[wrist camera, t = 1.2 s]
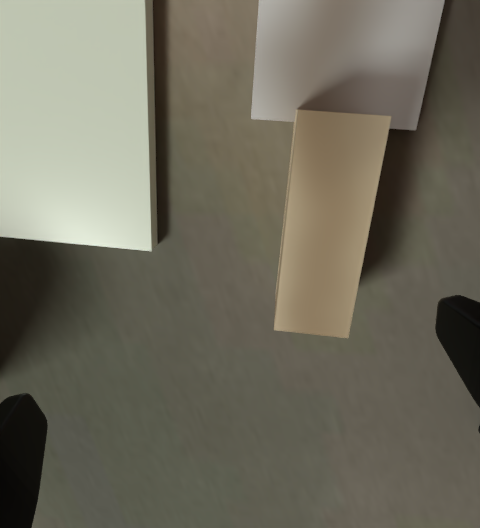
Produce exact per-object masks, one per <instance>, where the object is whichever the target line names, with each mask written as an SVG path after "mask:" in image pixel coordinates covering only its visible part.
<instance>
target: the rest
mask: <svg viewBox="0 0 480 528" xmlns="http://www.w3.org/2000/svg"><path fill="white" fill-rule="evenodd" d="M0 237H10V238H20V239H30V240H41V241H51V242H61V243H72V244H82V245H92V246H103V247H113V248H123V249H134V250H144V251H152V250H153V249H154V248H155V247H156V246H157V245H158V241H157V191H156V141H155V90H154V40H153V0H0Z"/></svg>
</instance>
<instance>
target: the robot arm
mask: <svg viewBox="0 0 480 528" xmlns="http://www.w3.org/2000/svg"><path fill="white" fill-rule="evenodd" d="M435 329H436V334H437V337H438V339H439V341H440V342H441V344H442V346H443V348H444V349H445V351H446V353H447V355H448V356H449V358H450V360H451V361H452V363H453V365H454V367H455V368H456V370H457V372H458V374H459V375H460V377H461V379H462V380H463V382H464V384H465V386H466V387H467V389H468V391H469V392H470V394H471V396H472V397H473V399H474V400H475V402H476V403H477V405H478V406H479V407H480V302H477V301H474V300H472V299H469V298H466V297H464V296H461V295H455V296H450V297H446V298H442V299H440V300H439V302H438V306H437V316H436V326H435ZM479 433H480V426H479ZM46 436H47V419H46V417H45V415H44V414H43V412H42V411H41V409H40V408H39V406H38V405H37V403H36V402H35V400H34V399H33V397H32V396H31V395H30V394H28V393H23V394H19V395H14V396H10V397H8V398H6V399H5V400H4V401H3V402H1V403H0V528H31V527H32V523H33V519H34V515H35V510H36V505H37V501H38V495H39V489H40V481H41V474H42V466H43V458H44V451H45V443H46Z"/></svg>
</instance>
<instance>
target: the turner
mask: <svg viewBox="0 0 480 528" xmlns="http://www.w3.org/2000/svg"><path fill="white" fill-rule="evenodd" d="M444 2H445V0H259V9H258V23H257V38H256V53H255V67H254V82H253V97H252V111H251V119H261V120H275V121H289V122H294V129H293V139H292V148H291V157H290V166H289V175H288V185H287V194H286V203H285V212H284V222H283V231H282V240H281V249H280V259H279V268H278V277H277V286H276V301H275V322H274V330H278V331H288V332H297V333H306V334H315V335H324V336H333V337H342V338H348V336H349V330H350V325H351V320H352V315H353V310H354V305H355V300H356V295H357V290H358V285H359V280H360V274H361V269H362V264H363V259H364V254H365V249H366V244H367V239H368V234H369V229H370V224H371V219H372V213H373V208H374V203H375V198H376V193H377V188H378V183H379V178H380V173H381V168H382V163H383V157H384V152H385V147H386V142H387V137H388V132H389V128H390V129H404V130H416V128H417V123H418V119H419V114H420V110H421V105H422V101H423V96H424V92H425V87H426V83H427V78H428V74H429V69H430V65H431V60H432V56H433V51H434V47H435V42H436V38H437V33H438V29H439V24H440V20H441V15H442V11H443V6H444Z"/></svg>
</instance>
